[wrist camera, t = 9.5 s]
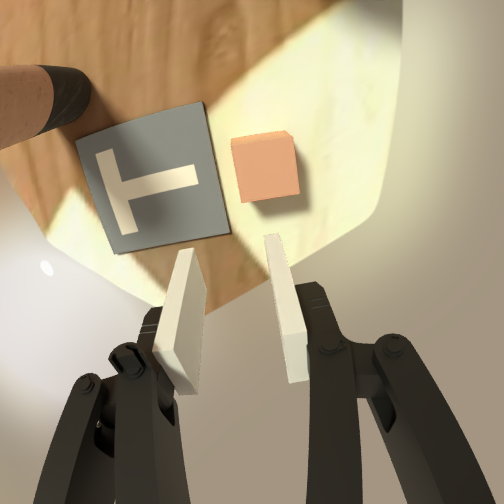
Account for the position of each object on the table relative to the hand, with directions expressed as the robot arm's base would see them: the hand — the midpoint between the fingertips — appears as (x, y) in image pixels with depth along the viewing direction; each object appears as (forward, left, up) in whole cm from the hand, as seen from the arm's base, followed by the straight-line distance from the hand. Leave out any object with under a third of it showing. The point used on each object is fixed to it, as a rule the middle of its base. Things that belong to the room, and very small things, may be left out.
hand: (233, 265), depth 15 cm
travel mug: (+18, -14, -21) cm, 31 cm away
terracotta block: (-3, 0, -21) cm, 21 cm away
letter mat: (+10, 0, -21) cm, 23 cm away
